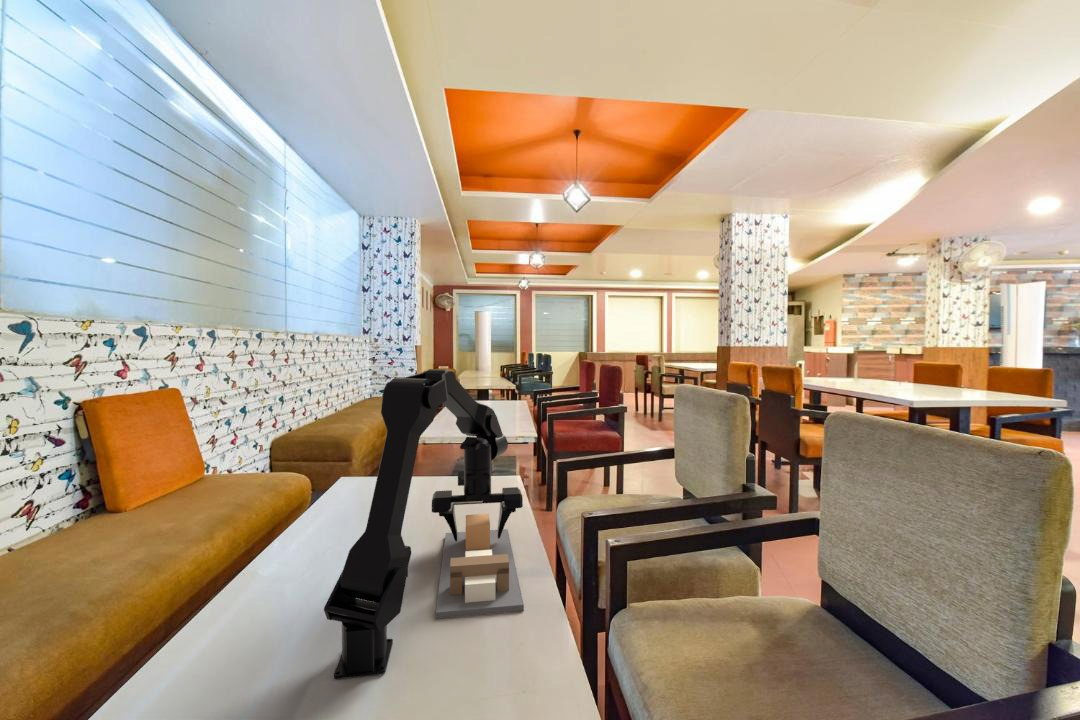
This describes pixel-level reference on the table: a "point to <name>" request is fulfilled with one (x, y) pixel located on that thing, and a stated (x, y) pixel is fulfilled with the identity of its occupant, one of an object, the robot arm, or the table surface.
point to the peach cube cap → (477, 532)
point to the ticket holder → (478, 578)
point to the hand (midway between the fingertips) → (477, 539)
